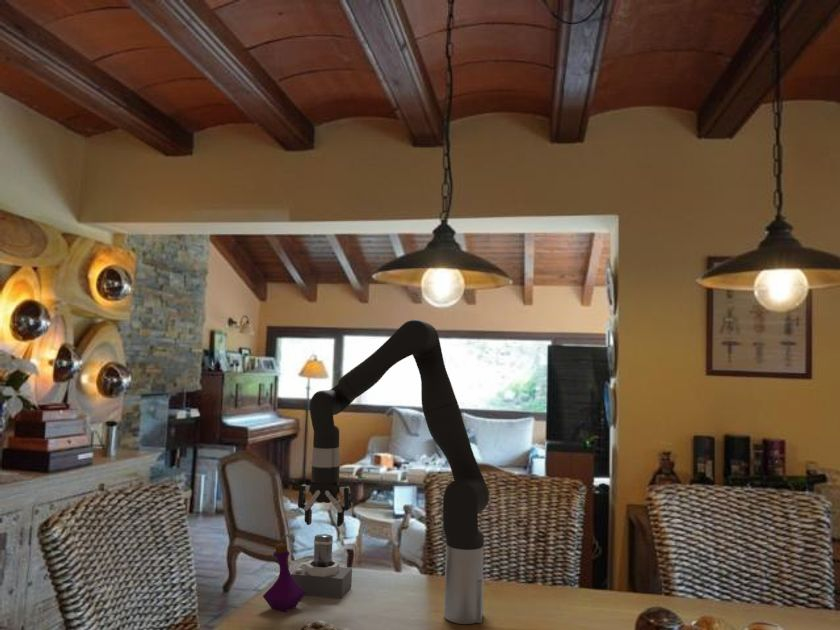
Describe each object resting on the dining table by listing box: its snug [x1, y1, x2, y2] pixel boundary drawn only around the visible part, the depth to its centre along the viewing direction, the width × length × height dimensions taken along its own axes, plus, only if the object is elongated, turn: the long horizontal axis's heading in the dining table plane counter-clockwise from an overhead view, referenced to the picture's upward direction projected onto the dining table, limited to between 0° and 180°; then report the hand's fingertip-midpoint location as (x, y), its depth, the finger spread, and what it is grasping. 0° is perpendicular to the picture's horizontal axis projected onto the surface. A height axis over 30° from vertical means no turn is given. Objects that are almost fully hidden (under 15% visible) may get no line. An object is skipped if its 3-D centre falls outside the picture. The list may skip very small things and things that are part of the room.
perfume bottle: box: [262, 532, 306, 613], centre depth 158 cm, size 8×8×18 cm
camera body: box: [290, 558, 353, 599], centre depth 170 cm, size 14×9×7 cm, turn 80°
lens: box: [313, 533, 334, 568], centre depth 171 cm, size 5×5×9 cm
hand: (323, 525), depth 171 cm, fingers open, 8 cm apart
